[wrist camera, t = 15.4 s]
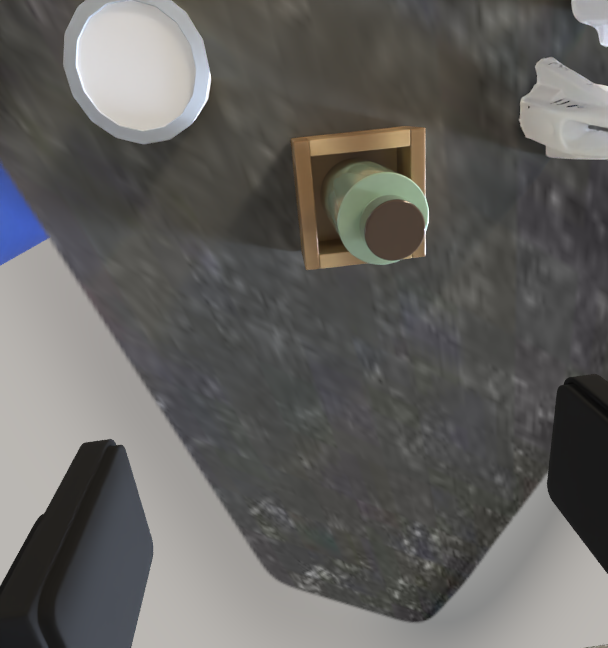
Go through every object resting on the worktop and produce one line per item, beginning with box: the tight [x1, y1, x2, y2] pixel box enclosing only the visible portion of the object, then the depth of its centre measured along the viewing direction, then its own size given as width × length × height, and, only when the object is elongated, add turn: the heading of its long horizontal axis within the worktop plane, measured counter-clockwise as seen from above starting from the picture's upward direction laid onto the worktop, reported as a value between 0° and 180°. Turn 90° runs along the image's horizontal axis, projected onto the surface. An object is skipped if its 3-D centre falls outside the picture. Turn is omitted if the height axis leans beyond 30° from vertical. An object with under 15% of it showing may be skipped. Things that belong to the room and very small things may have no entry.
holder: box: [290, 126, 426, 270], centre depth 32 cm, size 8×8×4 cm
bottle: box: [320, 157, 429, 265], centre depth 28 cm, size 5×5×12 cm
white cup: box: [63, 0, 211, 144], centre depth 27 cm, size 7×7×7 cm
